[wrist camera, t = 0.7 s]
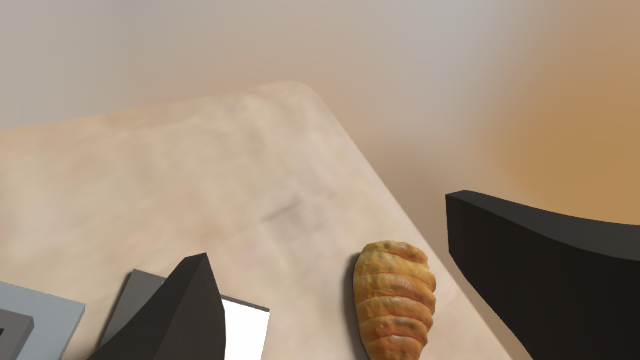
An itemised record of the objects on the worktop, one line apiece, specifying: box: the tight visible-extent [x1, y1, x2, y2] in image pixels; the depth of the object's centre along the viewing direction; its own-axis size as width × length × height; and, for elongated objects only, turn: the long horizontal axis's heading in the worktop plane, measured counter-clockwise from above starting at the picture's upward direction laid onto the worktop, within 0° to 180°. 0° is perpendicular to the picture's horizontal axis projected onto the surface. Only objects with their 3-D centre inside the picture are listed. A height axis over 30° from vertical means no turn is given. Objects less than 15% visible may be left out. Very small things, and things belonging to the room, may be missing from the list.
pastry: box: [353, 241, 436, 360], centre depth 32 cm, size 9×7×4 cm
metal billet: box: [162, 283, 269, 360], centre depth 22 cm, size 4×6×6 cm, turn 83°
